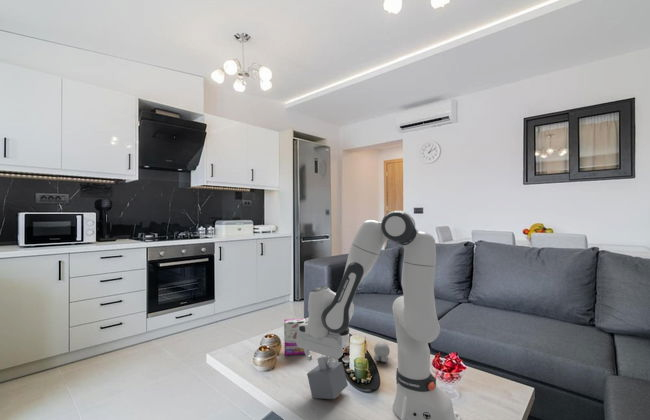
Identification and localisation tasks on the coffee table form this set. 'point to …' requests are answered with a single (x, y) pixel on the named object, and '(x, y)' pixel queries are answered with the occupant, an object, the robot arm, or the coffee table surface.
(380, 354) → the chubby cartoon animal
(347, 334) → the jar
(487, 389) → the coffee table surface
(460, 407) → the coffee table surface
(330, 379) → the grey faceted cube
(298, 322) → the candy bar box
